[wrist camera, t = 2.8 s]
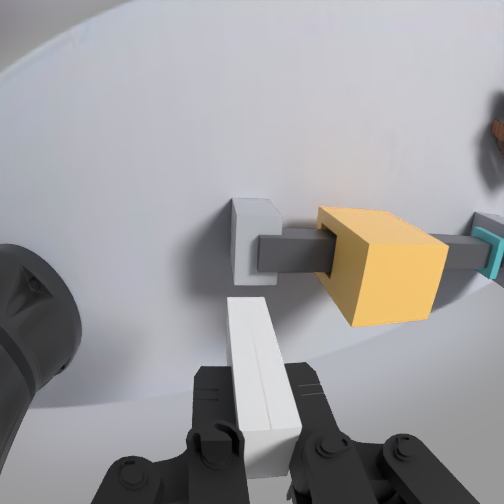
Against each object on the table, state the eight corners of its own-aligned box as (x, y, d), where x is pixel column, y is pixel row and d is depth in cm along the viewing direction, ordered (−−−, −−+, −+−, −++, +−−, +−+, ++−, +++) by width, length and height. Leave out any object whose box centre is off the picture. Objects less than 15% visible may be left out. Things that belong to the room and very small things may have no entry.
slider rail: (229, 261, 27) (237, 319, 19) (232, 191, 25) (242, 222, 16) (487, 260, 31) (534, 291, 23) (497, 215, 29) (550, 239, 20)
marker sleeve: (311, 268, 25) (351, 327, 17) (319, 206, 23) (369, 243, 16) (374, 267, 26) (427, 319, 18) (384, 210, 24) (449, 246, 16)
